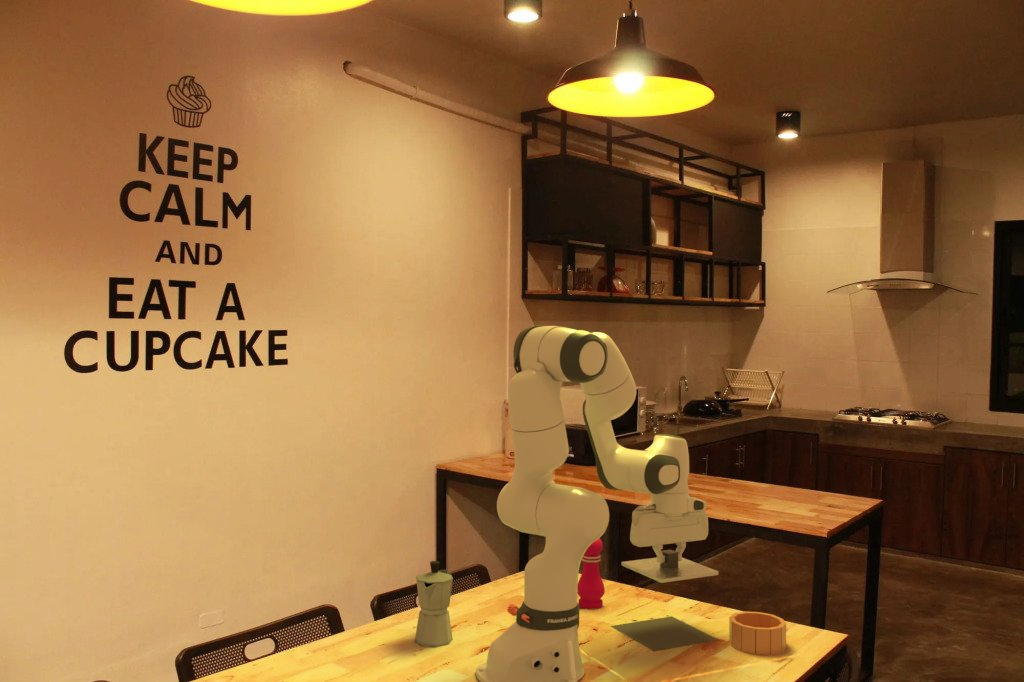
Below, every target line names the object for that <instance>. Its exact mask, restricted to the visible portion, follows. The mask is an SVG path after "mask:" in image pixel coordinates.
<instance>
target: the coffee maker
mask: <svg viewBox="0 0 1024 682" xmlns="http://www.w3.org/2000/svg"><path fill="white" fill-rule="evenodd" d="M429 564H430V571H429V572H424V573H421V574H418V575H416V576H415V578H416V579H415V580H416V586H417V587H416V588H417V597H418V605H419V608H420V610H419V613H418V616H417V617H418V619H417V623H416V630H415V637H414V643H415V644H418V645H419V646H421V647H428V648H439V647H442V646H448V645H450V643H451V642H452V641H453V632H452V625H451V620H450V619H451V618H450V611H449V610H448V607H450V603H451V596H452V588H453V580H454V578H453V576H452V574H450V573H448V570H447V569H440V561H437V560H431V561H430V562H429ZM439 569H440V570H439Z"/></svg>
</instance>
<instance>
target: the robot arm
mask: <svg viewBox="0 0 1024 682" xmlns="http://www.w3.org/2000/svg"><path fill="white" fill-rule="evenodd" d="M512 352H513V361H514V362H513V368H514V370H515V372H516V374H515V375H514V376H511V379H510V380H509V384H508V386H507V387H508V389H507V390H508V391H507V392H508V395H507V406H508V407H507V408H508V419H509V424H510V432H511V438H512V439H511V440H512V445H513V451H514V452H513V453H514V469H513V472H512V476H511V478H510V480H509V481H508V483H506V484H505V485H504V486H503V487H502V489H501V490H500V492H499V494H498V496H497V501H496V512H497V515H498V519H499V520H500V521H501V523H502V524H504V525H505V526H507V527H509V528H510V529H511V528H512V529H513V530H516V531H518V532H521V533H524V534H531V535H535V536H536V535H537V536H540V537H544V538H545V545H544V549H543V552H541V553H539V554H537V555H534V557H532V558H531V559H530V560H528V562H527V563H526V564H525V568H524V582H523V583H524V588H523V589H524V590H523V595H524V596H523V598H524V600H523V601H522V604H521V606H520V607H518V606H516V604H514V603H510V604H509V605H508V606H507V609H506V611H507V613H509V615H511V616H513V617H516V618H515V621H514V623H512V624H511V625H510V626H509V627H508V628H507V629H506V630H504V631H503V632H502V633H501V634H500V635H499V636H498V637H497V638H495V639H494V640H493V641H492V642H491V643H490V646H489V648H488V652H487V659H486V663H483V664H479V665H477V666H476V668H475V669H476V670H475V677H476V678H477V679H478V681H479V682H578V681H579V680H581V679H582V678H583V677H584V675H585V668H584V665H583V660H582V656H581V650H580V642H579V631H578V630H579V627H580V608H579V601H578V593H577V590H578V582H579V572H580V567H581V562H582V557H583V555H584V553H585V552H586V550H587V549H588V547H589V546H590V545H591V544H592V543H593V542H595V541H596V540H598V539H599V538H600V539H601V537H602V536H603V535H604V534H605V533H606V531H607V528H608V526H609V522H610V510H609V505H608V503H607V501H606V499H605V497H603V495H601V494H600V493H598V492H597V493H596V492H595V491H593V490H590V489H587V488H584V487H579V486H573V485H568V484H567V485H566V484H559V483H556V482H555V481H554V479H553V478H554V476H553V473H554V470H557V469H558V468H560V467H561V466H562V465H564V463H565V462H566V461H567V458H568V456H569V453H570V452H569V451H570V448H569V447H570V446H569V441H568V434H567V433H568V432H567V430H566V429H567V428H566V422H565V415H564V409H563V406H562V402H561V397H560V396H561V390H562V389H561V388H562V385H563V382H565V383H566V382H568V383H569V382H570V383H571V382H572V383H574V384H579V385H580V387H581V389H582V392H583V395H584V397H585V399H584V401H583V403H582V416H583V421H584V424H585V429H586V432H587V435H588V438H589V441H590V445H591V448H592V451H593V455H594V458H595V467H596V474H597V477H598V479H599V481H600V483H601V485H602V486H603V487H605V488H606V489H608V490H610V491H611V490H612V491H613V490H614V491H626V492H633V493H636V494H637V493H639V494H646V495H650V504H646V505H638V506H637V507H636V508H635V509H634V510H633V511H632V514H631V526H630V531H629V532H630V533H629V540H630V543H631V544H632V545H633V546H636V547H638V548H643V547H646V548H647V547H652V549H653V551H654V553H655V555H656V558H657V562H658V563H660V564H662V563H666V556H665V555H663V554H662V551H663V549H664V548H663V547H664V545H670V544H675V545H676V546H677V547H676V549H675V551H676V552H678V561H681V560H682V558H683V555H682V554H683V553H684V551H685V549H686V546H687V542H689V543H690V542H696V541H703V540H704V541H705V540H706V539H707V537H708V535H709V518H708V516H709V515H708V513H707V512H706V510H707V508H708V502H707V501H706V500H703V499H700V498H697V497H694V496H692V495H690V487H689V484H688V478H689V475H690V453H689V448H688V447H689V446H688V442H687V440H686V439H685V438H684V437H683V436H680V435H673V434H666V433H658V434H655V435H654V436H653V441H652V443H651V445H650V446H649V447H647V448H646V449H644V450H639V449H631V448H627V447H624V446H622V445H621V444H619V443H618V441H617V439H616V436H615V432H614V429H613V425H612V420H616V419H617V418H620V417H622V416H623V415H624V414H625V413H626V412H628V411H629V409H630V408H631V407H632V406H633V404H634V402H635V401H636V396H637V393H638V392H637V385H636V382H635V380H634V377H633V375H632V372H631V370H630V368H629V365H628V363H627V361H626V359H625V357H624V356H623V354H622V352H621V351H620V349H619V347H618V346H617V344H616V343H615V341H614V340H613V338H611V336H609V335H608V334H606V333H605V332H600V331H593V332H590V331H588V330H583V329H578V330H577V329H575V328H571V327H570V328H569V327H566V326H562V325H561V326H559V325H540V324H539V325H534V326H529V327H527V328H524V329H523V330H522V331H520V332H519V333H518V334H517V336H516V339H515V342H514V344H513V351H512Z"/></svg>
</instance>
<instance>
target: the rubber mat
mask: <svg viewBox="0 0 1024 682" xmlns="http://www.w3.org/2000/svg"><path fill="white" fill-rule="evenodd" d="M610 627H611V628H613V629H615V631H618V632H620V633H621V634H623V635H625V636H627V637H628V638H630V639H632V640H633V641H635V642H637V643H639V644H641V645H642V646H644V647H646V648H647V649H649V650H651V651H653V652H658V651H663V650H669V649H675V648H681V647H686V646H691V645H693V646H694V645H697V644H702V643H709V642H714V641H719V639H718V638H717V637H715V636H713V635H711V634H708V633H707V632H705V631H703V630H700V629H699V628H696V627H694V626H692V625H690V624H688V623H686V622H685V621H682V620H680V619H678V618H676V617H674V616H671V615H670V616H666V617H660V618H659V617H658V618H654V619H647V620H640V621H634V622H628V623H620V624H614V625H610Z"/></svg>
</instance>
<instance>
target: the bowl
mask: <svg viewBox="0 0 1024 682" xmlns="http://www.w3.org/2000/svg"><path fill="white" fill-rule="evenodd" d="M728 620H729V623H728V624H729V626H728V630H729V632H728V633H729V635H728V637H729V639H728V642H729V644H730V646H731V647H733V648H735V649H736V650H739V651H741V652H744V653H749V654H752V655H765V656H766V655H767V656H769V655H777V654H781V653H783V652H784V651H785V650H786V649H787V622H786V621H785V620H784V618H781V617H780V616H777V615H775V614H772V613H765V612H762V611H761V612H759V611H739V612H734V613H733V614H731V615H730V616H729V619H728Z"/></svg>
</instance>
